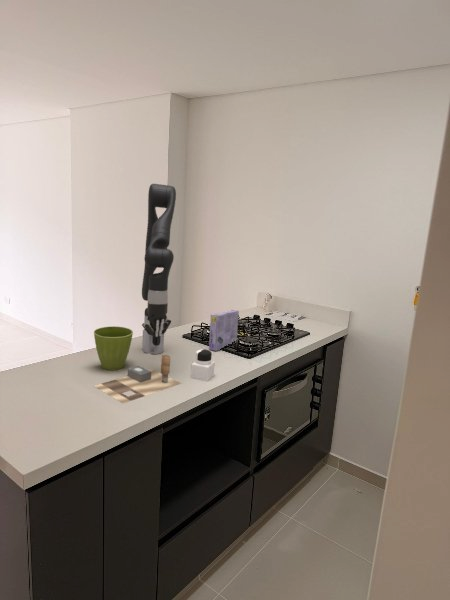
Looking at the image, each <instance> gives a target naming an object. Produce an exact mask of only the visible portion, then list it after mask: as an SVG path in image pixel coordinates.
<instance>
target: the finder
mask: <svg viewBox="0 0 450 600" xmlns="http://www.w3.org/2000/svg"><path fill="white" fill-rule="evenodd" d="M149 370H150V369H146V368H145V367H142V366H140V365H136V366H132V367H129V368H127V376H128V377H130V378H132V379H134V380H136V381H138V382H140V383H141V382H144V381H147V380H150V379H151V371H149Z"/></svg>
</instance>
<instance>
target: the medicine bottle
mask: <svg viewBox="0 0 450 600" xmlns="http://www.w3.org/2000/svg"><path fill="white" fill-rule="evenodd" d="M212 355H213V354H212V350H211V351H210V349H209V350H208V349H206V348H205V349H204V348H203V349H202V348H201V349H198V350H196V352H195V361H193V362H192V364H191V369H190V370H191V371H190V378H191V379H196V380H201V381H205V382H208V381H210V380H211V378H213V376H214V375H215V364H216V363H215V361H213V360H212V357H213V356H212Z"/></svg>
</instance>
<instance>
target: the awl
mask: <svg viewBox="0 0 450 600" xmlns="http://www.w3.org/2000/svg"><path fill="white" fill-rule="evenodd" d="M160 359H161V360H160V361H161V365H160V373H161V374H162V382H163V383H167V382H168V377H169V374H170V372H171V371H170V370H171V355H169V354H163V355H161V358H160Z"/></svg>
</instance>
